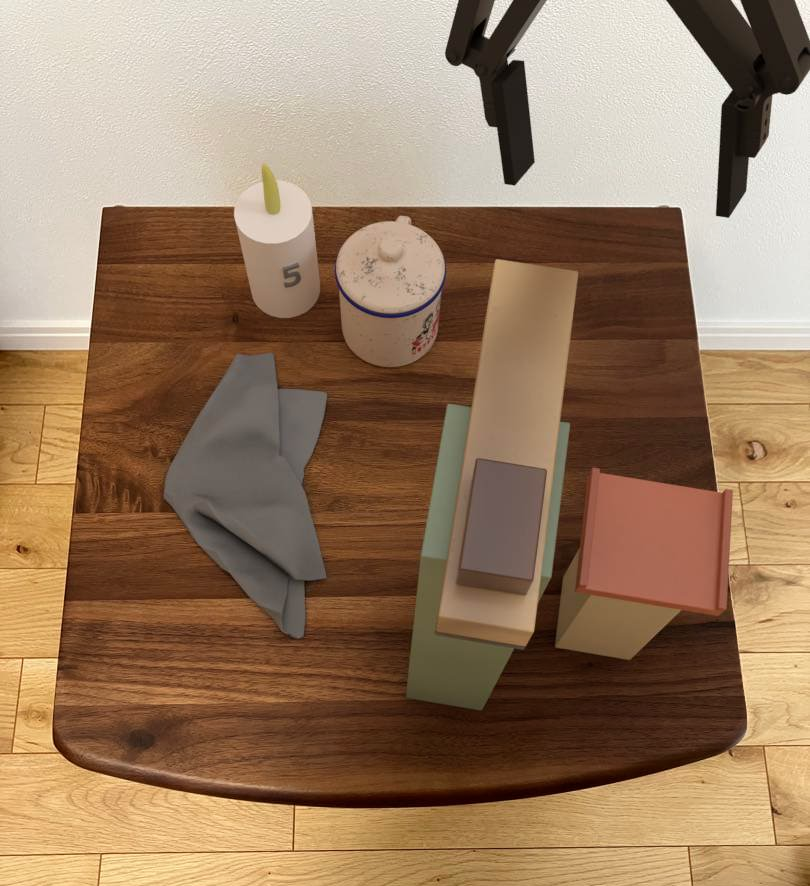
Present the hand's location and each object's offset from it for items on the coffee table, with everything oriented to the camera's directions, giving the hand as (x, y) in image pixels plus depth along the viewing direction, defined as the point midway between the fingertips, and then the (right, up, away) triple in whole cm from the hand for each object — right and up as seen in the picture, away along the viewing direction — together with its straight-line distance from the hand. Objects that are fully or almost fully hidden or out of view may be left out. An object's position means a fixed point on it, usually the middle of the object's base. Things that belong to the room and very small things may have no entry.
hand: (619, 188), depth 58 cm
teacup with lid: (-14, -1, +29) cm, 32 cm away
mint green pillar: (-9, -30, +18) cm, 36 cm away
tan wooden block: (-8, -17, -13) cm, 23 cm away
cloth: (-26, -17, +23) cm, 39 cm away
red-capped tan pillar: (+2, -27, +19) cm, 34 cm away
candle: (-24, +2, +30) cm, 38 cm away
